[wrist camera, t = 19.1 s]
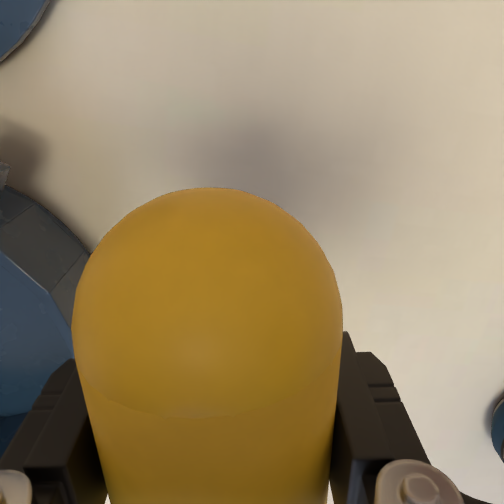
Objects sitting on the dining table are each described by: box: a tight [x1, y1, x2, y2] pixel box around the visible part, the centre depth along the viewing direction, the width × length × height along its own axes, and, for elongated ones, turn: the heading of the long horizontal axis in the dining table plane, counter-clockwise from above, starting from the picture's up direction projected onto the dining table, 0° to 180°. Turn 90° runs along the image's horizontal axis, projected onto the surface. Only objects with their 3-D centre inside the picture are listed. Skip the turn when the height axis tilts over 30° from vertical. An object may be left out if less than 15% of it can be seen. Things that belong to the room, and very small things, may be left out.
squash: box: [71, 188, 343, 504], centre depth 9 cm, size 11×5×5 cm, turn 1°
